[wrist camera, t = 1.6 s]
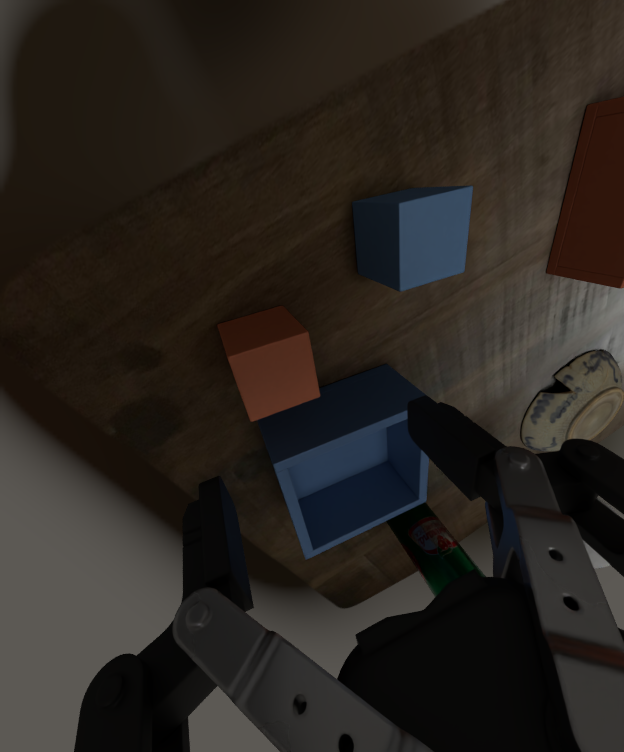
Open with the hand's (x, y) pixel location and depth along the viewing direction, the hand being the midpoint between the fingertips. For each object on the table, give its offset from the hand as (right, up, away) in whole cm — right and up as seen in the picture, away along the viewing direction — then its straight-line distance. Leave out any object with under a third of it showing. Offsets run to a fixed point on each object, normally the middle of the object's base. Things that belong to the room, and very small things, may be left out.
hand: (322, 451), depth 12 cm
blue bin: (+1, -3, +16) cm, 16 cm away
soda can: (+10, -13, +25) cm, 30 cm away
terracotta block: (-4, +5, +9) cm, 11 cm away
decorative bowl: (+33, 0, +28) cm, 43 cm away
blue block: (+4, +13, +8) cm, 16 cm away
